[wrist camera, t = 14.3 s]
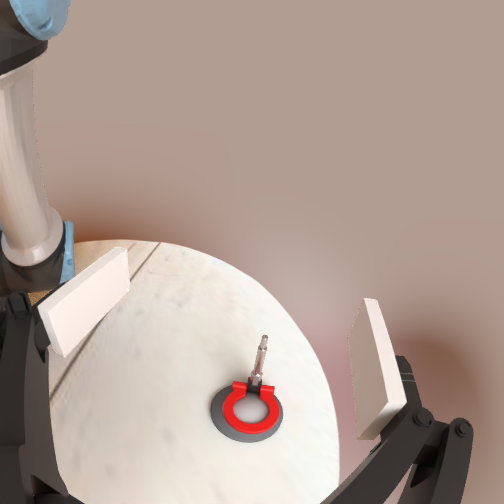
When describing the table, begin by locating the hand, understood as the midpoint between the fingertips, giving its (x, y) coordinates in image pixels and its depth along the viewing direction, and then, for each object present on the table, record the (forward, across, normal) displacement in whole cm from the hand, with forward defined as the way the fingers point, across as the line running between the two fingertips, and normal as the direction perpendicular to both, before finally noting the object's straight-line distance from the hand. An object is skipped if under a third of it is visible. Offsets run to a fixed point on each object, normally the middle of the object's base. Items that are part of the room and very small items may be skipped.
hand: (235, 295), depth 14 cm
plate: (+12, +2, -30) cm, 32 cm away
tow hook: (+12, +2, -29) cm, 32 cm away
